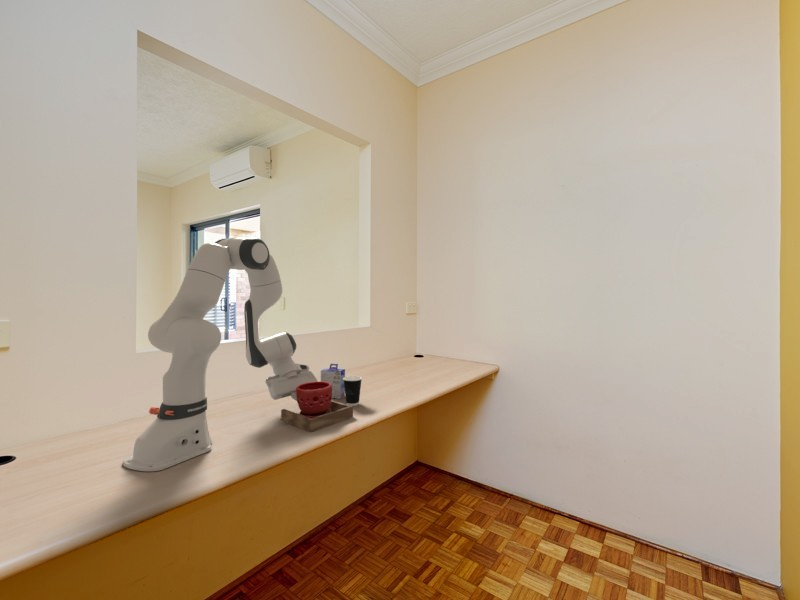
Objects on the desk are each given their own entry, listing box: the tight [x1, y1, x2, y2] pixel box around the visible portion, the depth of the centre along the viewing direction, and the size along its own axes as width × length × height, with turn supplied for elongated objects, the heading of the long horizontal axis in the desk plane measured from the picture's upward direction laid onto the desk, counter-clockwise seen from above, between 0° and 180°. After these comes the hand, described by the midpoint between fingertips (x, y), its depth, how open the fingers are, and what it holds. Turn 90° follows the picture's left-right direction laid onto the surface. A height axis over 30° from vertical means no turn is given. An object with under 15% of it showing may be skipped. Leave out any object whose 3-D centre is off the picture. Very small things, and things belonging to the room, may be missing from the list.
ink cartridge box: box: [320, 363, 346, 400], centre depth 164 cm, size 10×6×14 cm, turn 78°
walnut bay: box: [280, 399, 354, 433], centre depth 136 cm, size 17×19×4 cm
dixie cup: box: [343, 375, 363, 407], centre depth 154 cm, size 8×8×11 cm
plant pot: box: [296, 381, 333, 418], centre depth 138 cm, size 13×13×12 cm
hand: (302, 402), depth 142 cm, fingers closed
